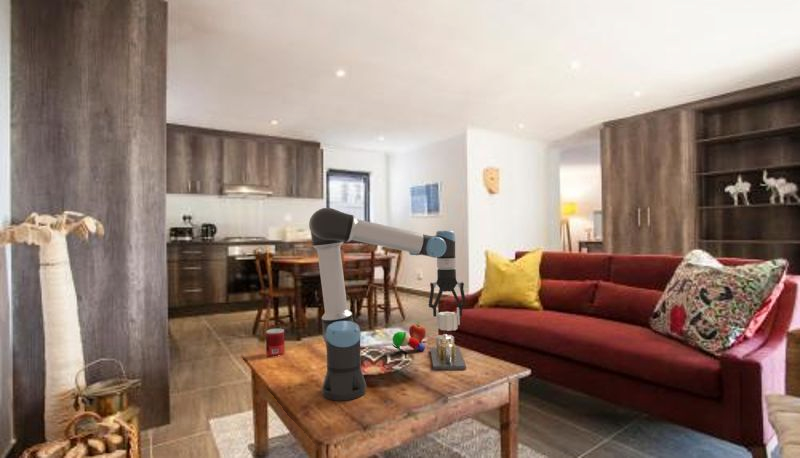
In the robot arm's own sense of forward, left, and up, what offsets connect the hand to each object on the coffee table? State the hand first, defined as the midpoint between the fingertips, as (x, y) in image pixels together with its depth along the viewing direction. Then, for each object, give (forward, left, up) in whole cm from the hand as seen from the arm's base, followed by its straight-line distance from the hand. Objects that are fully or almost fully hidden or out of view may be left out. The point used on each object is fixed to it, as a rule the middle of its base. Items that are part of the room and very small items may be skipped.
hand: (447, 324), depth 165 cm
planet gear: (0, 0, -2) cm, 2 cm away
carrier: (0, +8, -17) cm, 19 cm away
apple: (-12, +37, -17) cm, 43 cm away
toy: (-17, +21, -17) cm, 32 cm away
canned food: (-77, +18, -17) cm, 81 cm away
